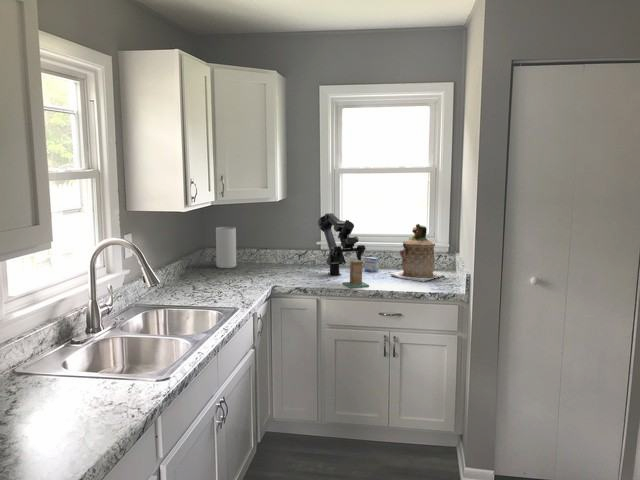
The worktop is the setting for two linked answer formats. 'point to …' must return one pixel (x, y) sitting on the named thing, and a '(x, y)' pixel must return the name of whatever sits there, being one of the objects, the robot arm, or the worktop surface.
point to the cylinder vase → (226, 247)
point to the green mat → (355, 285)
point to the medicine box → (371, 264)
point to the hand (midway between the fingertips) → (352, 262)
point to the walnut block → (356, 272)
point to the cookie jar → (418, 257)
